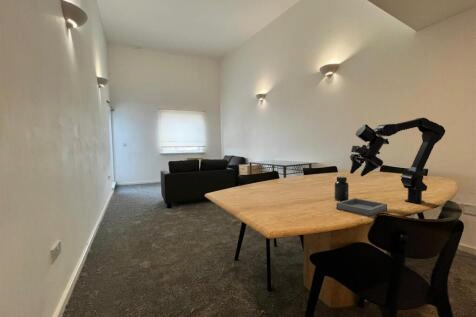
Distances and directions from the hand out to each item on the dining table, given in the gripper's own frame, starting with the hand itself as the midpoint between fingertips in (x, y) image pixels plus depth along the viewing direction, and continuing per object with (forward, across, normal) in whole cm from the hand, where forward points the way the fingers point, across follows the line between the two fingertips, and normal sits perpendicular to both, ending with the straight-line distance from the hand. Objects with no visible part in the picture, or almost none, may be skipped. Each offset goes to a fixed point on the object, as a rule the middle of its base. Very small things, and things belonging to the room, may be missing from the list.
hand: (355, 174), depth 118 cm
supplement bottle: (+14, -10, +6) cm, 18 cm away
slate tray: (+14, +9, +6) cm, 17 cm away
